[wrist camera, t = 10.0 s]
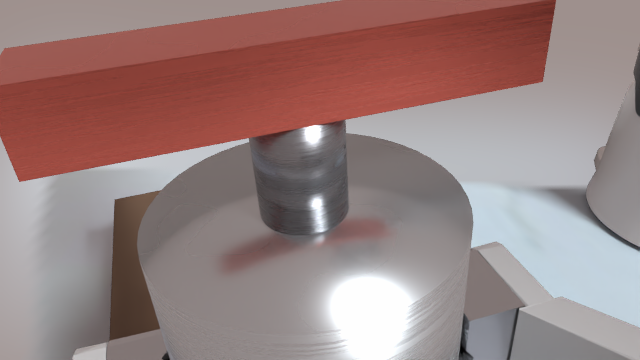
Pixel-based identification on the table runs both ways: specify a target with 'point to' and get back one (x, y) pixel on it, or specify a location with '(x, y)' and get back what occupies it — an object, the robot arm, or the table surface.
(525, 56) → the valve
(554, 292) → the table surface
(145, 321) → the manifold block
